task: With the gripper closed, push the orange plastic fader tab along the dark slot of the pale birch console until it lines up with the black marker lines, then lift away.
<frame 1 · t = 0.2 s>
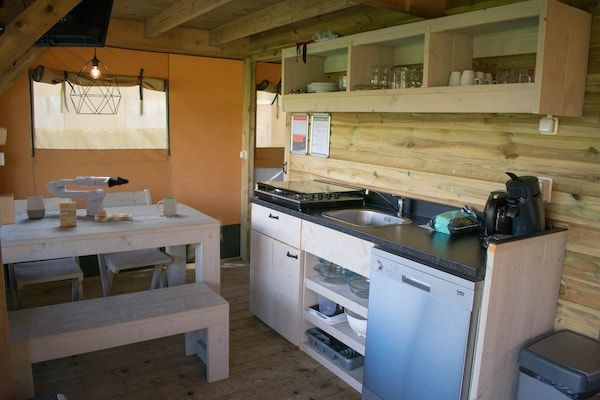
hand: (124, 182, 292), 21 cm above the table, tool horizontal, fingers open, 7 cm apart
fader tab: (102, 213, 284), point 4 cm above the table, slide at 0.0 cm
mug: (166, 214, 305), on the table
smart speaker: (36, 218, 285), on the table
supplement box: (68, 226, 267), on the table
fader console: (113, 219, 287), on the table
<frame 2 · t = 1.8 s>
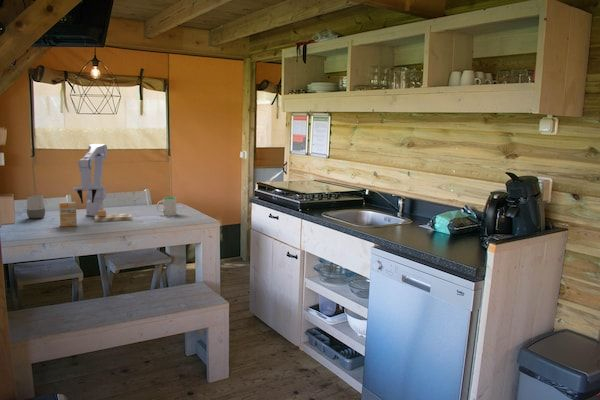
hand: (87, 202, 280), 10 cm above the table, tool pointing down, fingers open, 5 cm apart
nothing on the table moved.
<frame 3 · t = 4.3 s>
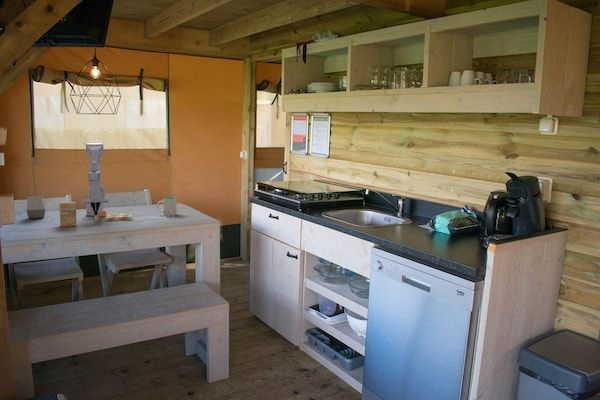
hand: (96, 215, 283), 3 cm above the table, tool pointing down, fingers closed
fader tab: (102, 213, 284), point 4 cm above the table, slide at 0.1 cm, touching gripper
everything else where it was.
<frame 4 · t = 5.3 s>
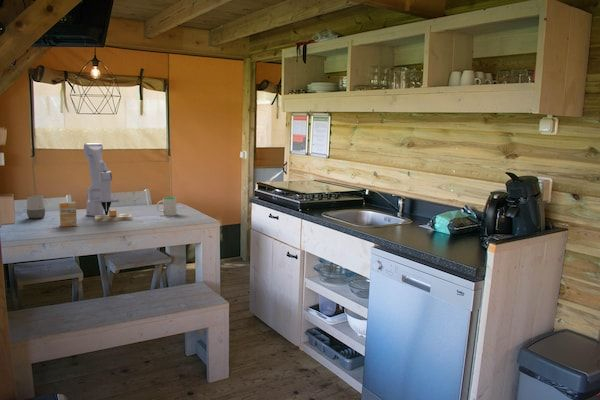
hand: (106, 214, 285), 3 cm above the table, tool pointing down, fingers closed
fader tab: (112, 212, 286), point 4 cm above the table, slide at 5.9 cm, touching gripper
everything else where it was.
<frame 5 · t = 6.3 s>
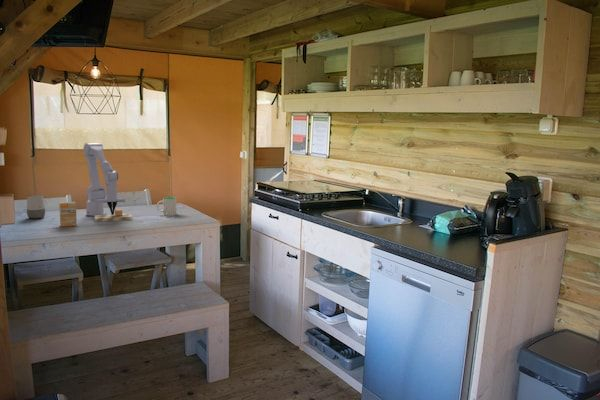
hand: (112, 214, 286), 3 cm above the table, tool pointing down, fingers closed
fader tab: (118, 212, 288), point 4 cm above the table, slide at 9.1 cm, touching gripper
everything else where it was.
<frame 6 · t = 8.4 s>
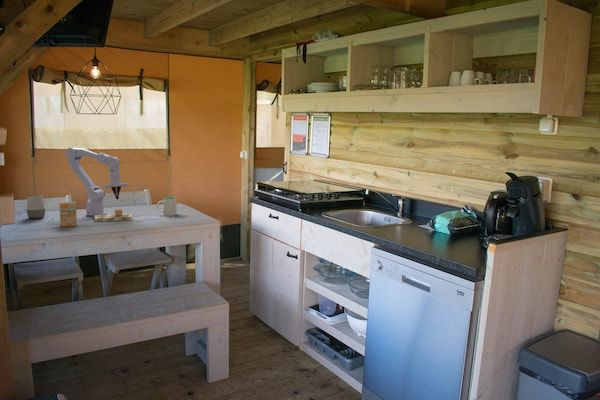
hand: (117, 199, 296), 10 cm above the table, tool pointing down, fingers closed
fader tab: (118, 212, 288), point 4 cm above the table, slide at 9.2 cm
everything else where it was.
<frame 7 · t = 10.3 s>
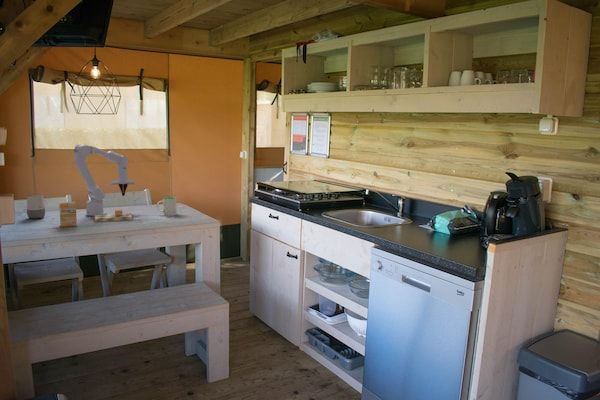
hand: (123, 195, 310), 10 cm above the table, tool pointing down, fingers closed
nothing on the table moved.
at the end: fader tab slide at 9.2 cm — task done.
